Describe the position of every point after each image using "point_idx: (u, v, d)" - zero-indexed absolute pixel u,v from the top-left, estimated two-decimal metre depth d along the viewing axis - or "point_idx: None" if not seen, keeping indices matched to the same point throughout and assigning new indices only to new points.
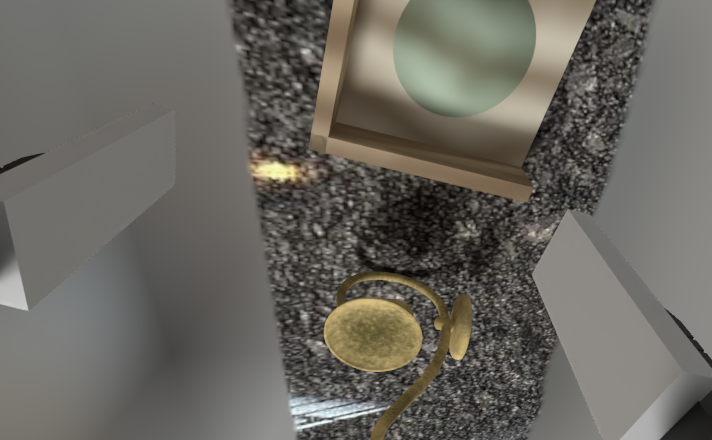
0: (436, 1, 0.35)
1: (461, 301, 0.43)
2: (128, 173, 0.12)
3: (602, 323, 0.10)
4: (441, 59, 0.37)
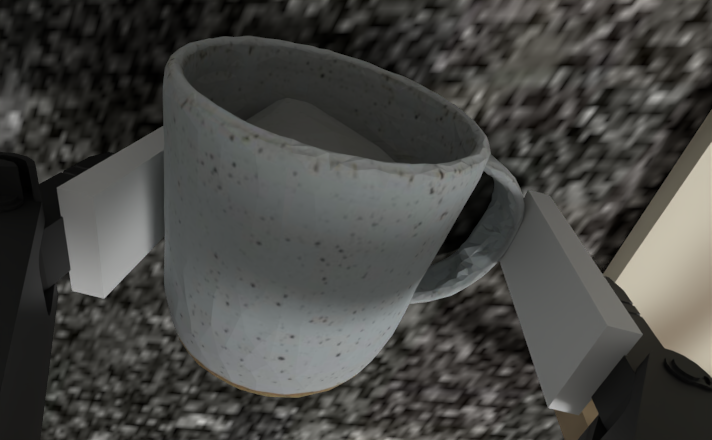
0: None
1: None
2: None
3: (549, 291, 0.11)
4: None
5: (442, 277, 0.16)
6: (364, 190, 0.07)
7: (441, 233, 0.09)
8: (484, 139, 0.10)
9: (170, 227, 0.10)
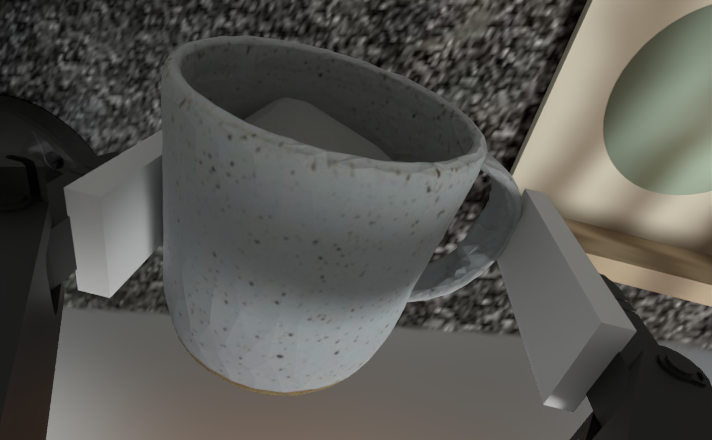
0: (633, 144, 0.28)
1: None
2: None
3: (545, 289, 0.11)
4: None
5: (440, 275, 0.16)
6: (362, 188, 0.07)
7: (438, 231, 0.09)
8: (481, 138, 0.10)
9: (169, 226, 0.10)
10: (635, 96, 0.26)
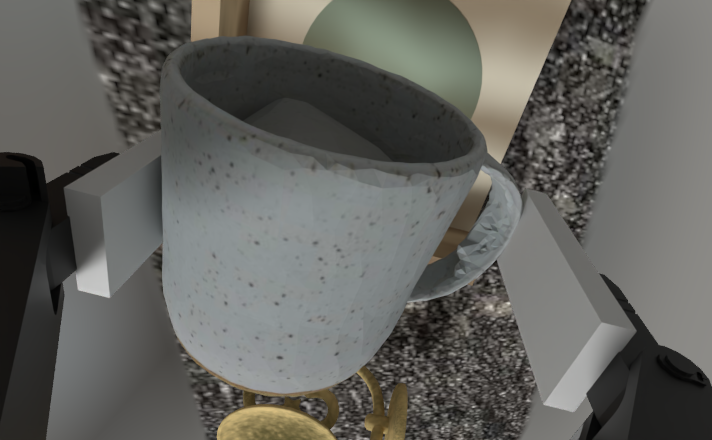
0: (348, 23, 0.26)
1: (396, 397, 0.34)
2: None
3: (545, 289, 0.11)
4: None
5: (440, 276, 0.16)
6: (362, 189, 0.07)
7: (438, 232, 0.09)
8: (481, 138, 0.10)
9: (168, 227, 0.10)
10: (399, 7, 0.25)
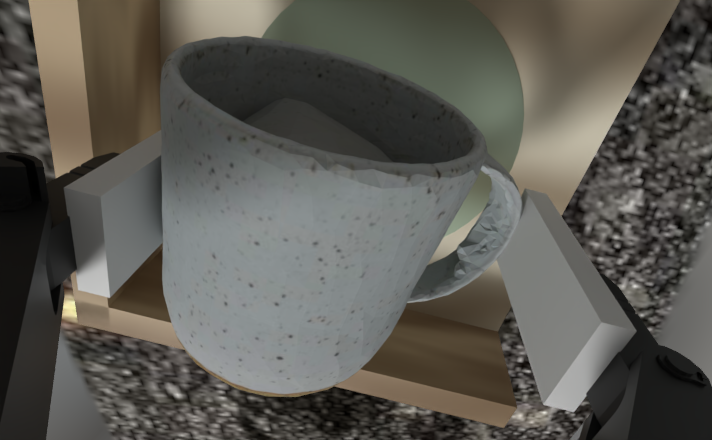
0: (314, 41, 0.17)
1: None
2: None
3: (545, 289, 0.11)
4: None
5: (440, 276, 0.16)
6: (362, 190, 0.07)
7: (438, 232, 0.09)
8: (481, 139, 0.10)
9: (168, 228, 0.10)
10: (394, 17, 0.16)
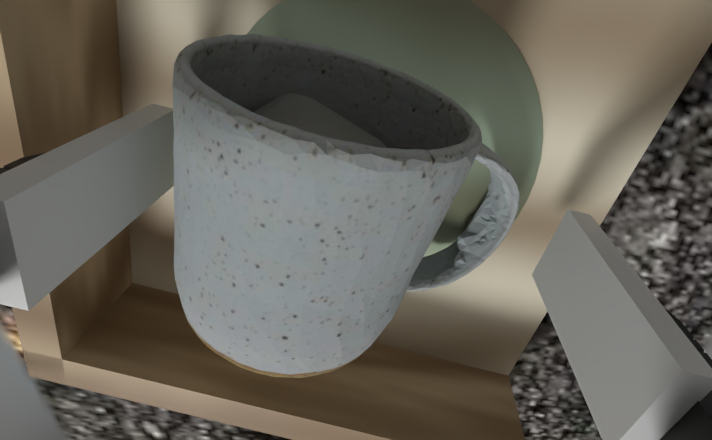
0: None
1: None
2: (128, 173, 0.12)
3: (602, 323, 0.10)
4: None
5: (441, 266, 0.16)
6: (360, 173, 0.08)
7: (435, 217, 0.10)
8: (476, 128, 0.10)
9: (180, 214, 0.10)
10: (391, 26, 0.13)
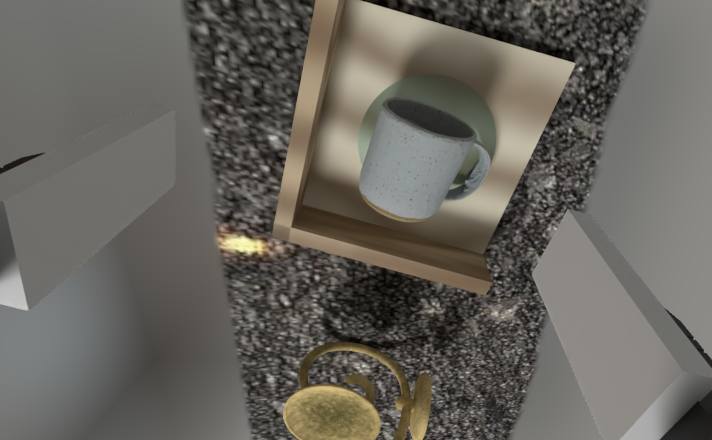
0: None
1: (421, 383, 0.43)
2: (128, 173, 0.12)
3: (602, 323, 0.10)
4: None
5: (458, 192, 0.37)
6: (444, 143, 0.29)
7: (461, 160, 0.31)
8: (475, 133, 0.32)
9: (379, 157, 0.31)
10: (438, 93, 0.35)
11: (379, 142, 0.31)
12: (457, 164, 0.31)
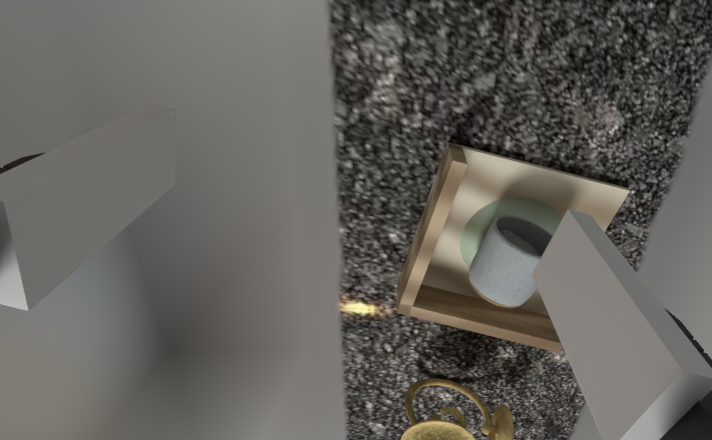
0: (495, 214, 0.48)
1: (503, 414, 0.56)
2: (128, 173, 0.12)
3: (602, 323, 0.10)
4: None
5: None
6: None
7: None
8: None
9: (492, 266, 0.44)
10: (524, 209, 0.47)
11: (492, 256, 0.44)
12: None
